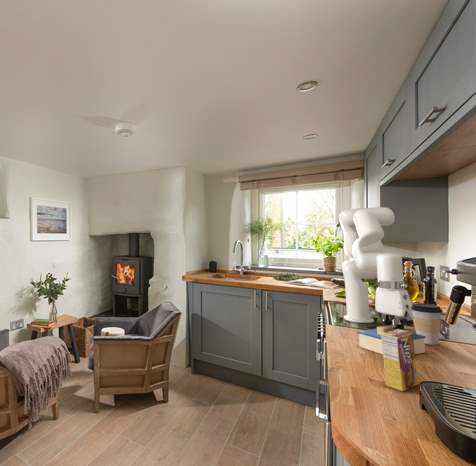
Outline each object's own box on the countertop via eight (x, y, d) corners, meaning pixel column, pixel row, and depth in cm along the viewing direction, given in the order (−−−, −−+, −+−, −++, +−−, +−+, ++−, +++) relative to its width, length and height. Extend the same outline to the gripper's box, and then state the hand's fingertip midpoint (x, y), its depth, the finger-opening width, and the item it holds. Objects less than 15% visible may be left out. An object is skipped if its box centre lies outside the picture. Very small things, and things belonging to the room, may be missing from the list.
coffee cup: (412, 342, 119) (409, 305, 119) (412, 337, 125) (409, 302, 126) (446, 348, 112) (443, 308, 113) (444, 341, 119) (441, 304, 119)
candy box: (400, 378, 89) (396, 328, 89) (418, 384, 85) (414, 332, 85) (383, 385, 85) (380, 332, 86) (402, 391, 81) (398, 336, 82)
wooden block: (402, 329, 117) (401, 322, 117) (415, 332, 113) (415, 325, 113) (374, 333, 113) (373, 326, 113) (386, 336, 109) (386, 329, 109)
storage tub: (388, 341, 120) (387, 327, 121) (426, 352, 108) (425, 336, 108) (358, 346, 116) (357, 331, 116) (393, 358, 104) (392, 341, 104)
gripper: (423, 287, 107) (427, 338, 106) (375, 282, 123) (378, 326, 122) (408, 288, 105) (412, 340, 104) (361, 283, 121) (364, 328, 120)
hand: (393, 332), depth 113 cm, fingers open, 3 cm apart
